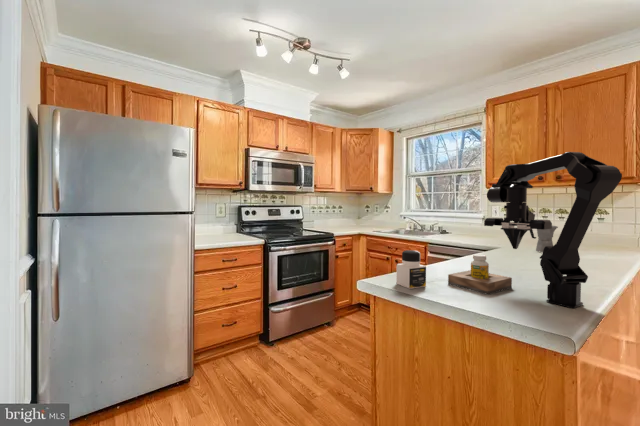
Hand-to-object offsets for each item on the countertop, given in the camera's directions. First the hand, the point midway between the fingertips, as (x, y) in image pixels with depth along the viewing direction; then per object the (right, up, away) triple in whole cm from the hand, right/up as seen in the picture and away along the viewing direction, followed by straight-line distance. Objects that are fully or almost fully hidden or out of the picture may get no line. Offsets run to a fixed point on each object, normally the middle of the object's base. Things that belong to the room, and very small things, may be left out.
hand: (515, 248), depth 102 cm
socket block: (-11, -13, +2) cm, 17 cm away
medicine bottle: (-34, -13, +3) cm, 37 cm away
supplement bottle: (-11, -12, +1) cm, 17 cm away
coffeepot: (+68, -11, +79) cm, 105 cm away
